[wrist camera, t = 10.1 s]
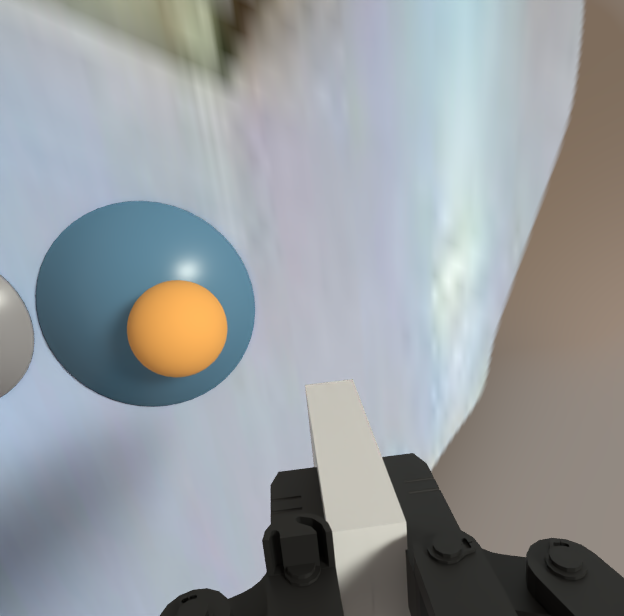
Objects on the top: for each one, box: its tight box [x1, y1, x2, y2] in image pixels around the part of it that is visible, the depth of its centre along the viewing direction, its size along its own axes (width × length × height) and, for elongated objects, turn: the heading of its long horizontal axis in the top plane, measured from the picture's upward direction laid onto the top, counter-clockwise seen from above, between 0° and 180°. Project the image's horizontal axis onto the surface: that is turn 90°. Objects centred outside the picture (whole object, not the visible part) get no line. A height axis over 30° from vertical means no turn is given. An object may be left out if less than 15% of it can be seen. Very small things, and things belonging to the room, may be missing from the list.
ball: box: [127, 280, 227, 377], centre depth 29 cm, size 6×6×6 cm
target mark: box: [36, 201, 255, 406], centre depth 31 cm, size 13×13×1 cm
